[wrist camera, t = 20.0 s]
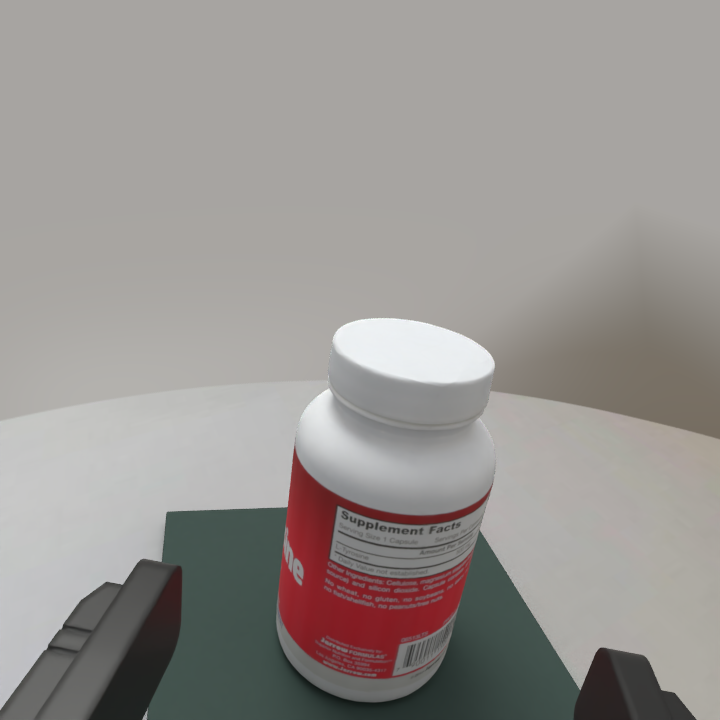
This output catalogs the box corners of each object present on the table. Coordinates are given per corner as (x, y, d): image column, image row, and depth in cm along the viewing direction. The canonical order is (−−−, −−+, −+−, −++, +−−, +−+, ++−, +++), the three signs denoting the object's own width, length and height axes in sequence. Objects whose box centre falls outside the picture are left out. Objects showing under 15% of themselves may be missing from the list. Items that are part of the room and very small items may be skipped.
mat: (166, 522, 25) (166, 511, 25) (459, 510, 29) (461, 500, 29) (128, 931, 13) (128, 916, 13) (645, 817, 17) (652, 805, 17)
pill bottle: (300, 553, 24) (332, 297, 20) (447, 587, 23) (513, 331, 19) (248, 684, 18) (278, 364, 14) (441, 735, 18) (534, 416, 13)
